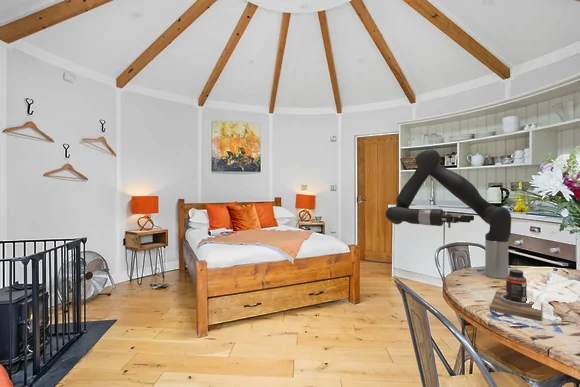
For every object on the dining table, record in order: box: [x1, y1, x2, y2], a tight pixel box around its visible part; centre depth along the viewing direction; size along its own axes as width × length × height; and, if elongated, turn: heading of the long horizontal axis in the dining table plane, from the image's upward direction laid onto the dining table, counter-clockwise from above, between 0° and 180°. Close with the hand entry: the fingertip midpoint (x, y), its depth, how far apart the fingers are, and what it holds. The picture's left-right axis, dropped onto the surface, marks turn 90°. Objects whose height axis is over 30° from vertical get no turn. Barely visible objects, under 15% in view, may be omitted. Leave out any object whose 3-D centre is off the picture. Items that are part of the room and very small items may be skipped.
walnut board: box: [489, 290, 543, 322], centre depth 112 cm, size 20×14×3 cm
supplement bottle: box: [505, 269, 528, 303], centre depth 112 cm, size 6×6×11 cm
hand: (472, 218), depth 130 cm, fingers open, 8 cm apart
